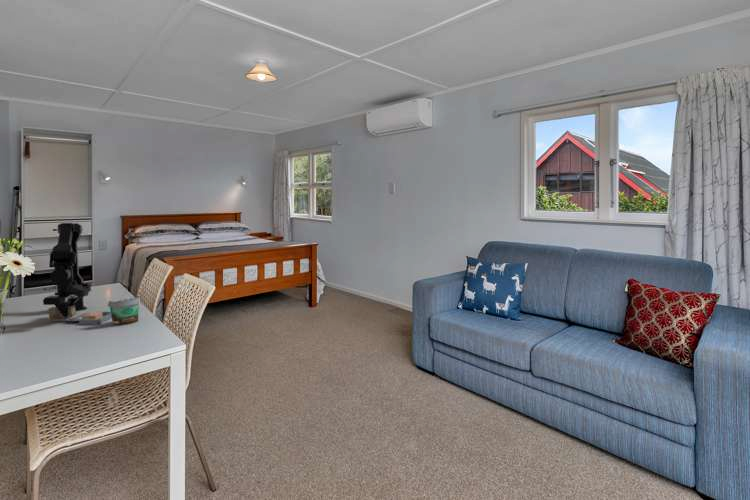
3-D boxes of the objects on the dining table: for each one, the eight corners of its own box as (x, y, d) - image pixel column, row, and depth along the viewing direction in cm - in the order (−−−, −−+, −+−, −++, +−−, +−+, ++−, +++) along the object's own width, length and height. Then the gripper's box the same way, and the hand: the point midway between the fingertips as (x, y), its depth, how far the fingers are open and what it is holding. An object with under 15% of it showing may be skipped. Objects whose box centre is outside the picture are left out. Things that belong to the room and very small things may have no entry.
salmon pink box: (83, 322, 171) (82, 315, 170) (90, 319, 176) (90, 312, 175) (95, 322, 171) (95, 315, 171) (102, 319, 176) (102, 312, 176)
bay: (79, 324, 168) (78, 320, 167) (96, 316, 179) (96, 311, 179) (99, 324, 168) (99, 319, 168) (116, 316, 180) (115, 311, 180)
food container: (117, 328, 164) (115, 303, 162) (109, 325, 167) (107, 301, 166) (148, 320, 174) (146, 297, 173) (139, 318, 177) (138, 295, 176)
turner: (45, 322, 169) (43, 310, 168) (58, 316, 176) (57, 305, 176) (80, 320, 169) (79, 308, 169) (92, 314, 177) (91, 303, 177)
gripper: (70, 283, 162) (73, 322, 164) (98, 274, 180) (101, 309, 182) (40, 284, 161) (44, 323, 163) (71, 275, 180) (75, 310, 182)
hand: (68, 316), depth 173 cm, fingers closed on turner, 2 cm apart
